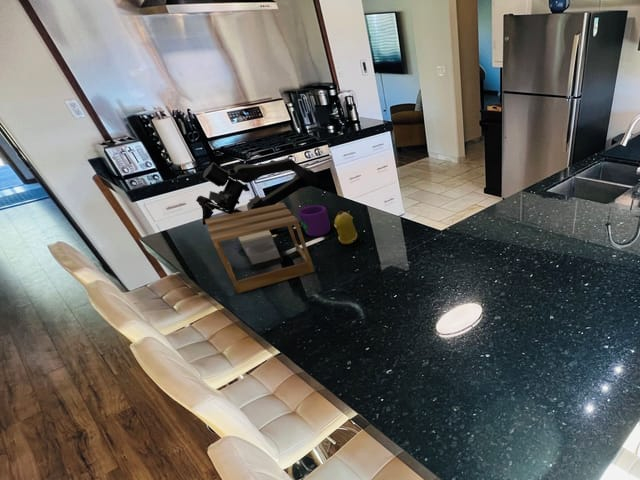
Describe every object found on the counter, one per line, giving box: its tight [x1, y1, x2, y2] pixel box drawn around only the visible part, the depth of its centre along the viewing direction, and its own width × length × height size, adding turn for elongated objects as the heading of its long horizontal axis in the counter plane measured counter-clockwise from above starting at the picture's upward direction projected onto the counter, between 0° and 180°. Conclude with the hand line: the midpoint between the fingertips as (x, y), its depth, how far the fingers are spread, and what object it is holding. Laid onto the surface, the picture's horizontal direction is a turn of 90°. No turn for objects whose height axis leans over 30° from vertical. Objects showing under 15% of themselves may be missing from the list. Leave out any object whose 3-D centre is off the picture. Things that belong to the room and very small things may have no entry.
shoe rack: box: [205, 202, 316, 294], centre depth 143 cm, size 22×26×19 cm
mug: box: [297, 204, 331, 237], centre depth 173 cm, size 17×11×10 cm, turn 44°
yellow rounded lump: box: [333, 210, 359, 245], centre depth 161 cm, size 12×8×15 cm
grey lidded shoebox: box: [238, 230, 284, 271], centre depth 155 cm, size 11×16×8 cm
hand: (215, 228), depth 158 cm, fingers open, 9 cm apart
